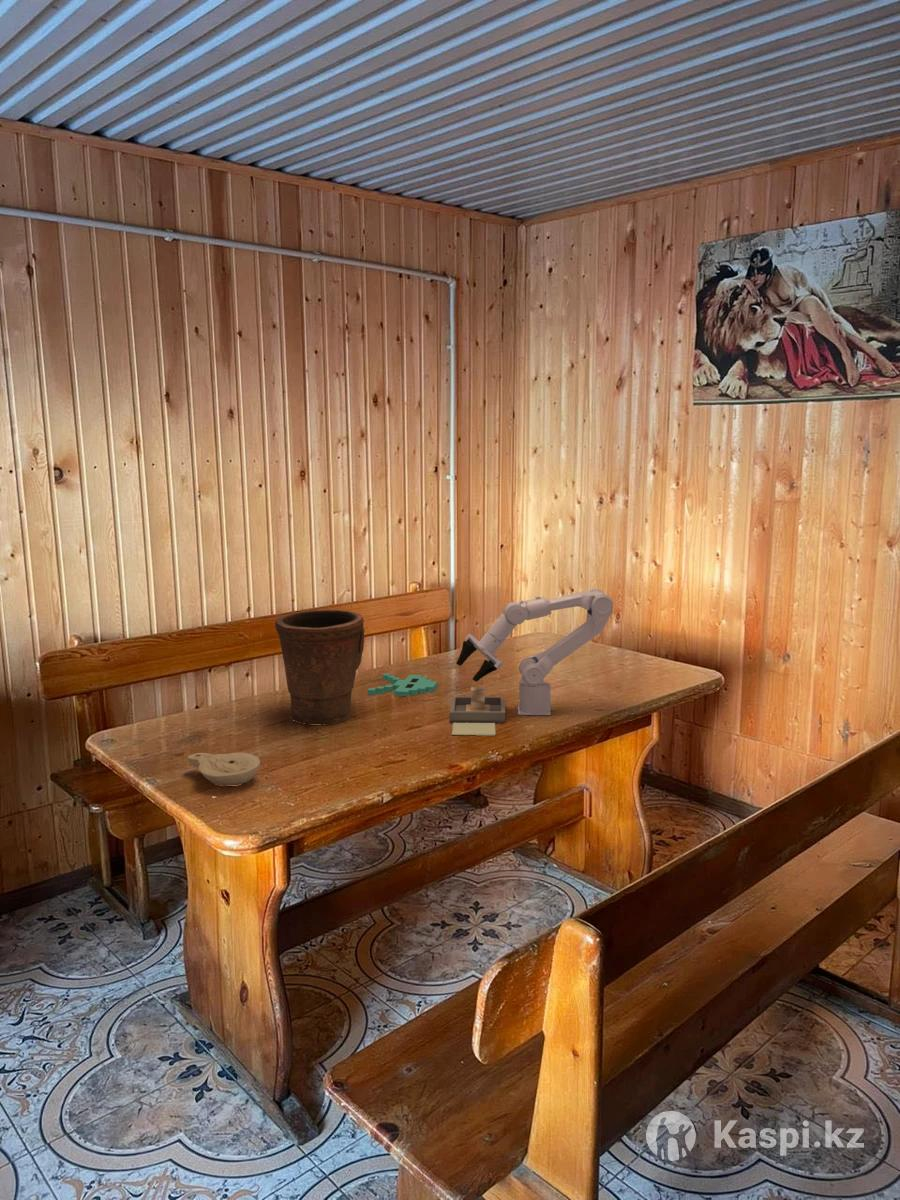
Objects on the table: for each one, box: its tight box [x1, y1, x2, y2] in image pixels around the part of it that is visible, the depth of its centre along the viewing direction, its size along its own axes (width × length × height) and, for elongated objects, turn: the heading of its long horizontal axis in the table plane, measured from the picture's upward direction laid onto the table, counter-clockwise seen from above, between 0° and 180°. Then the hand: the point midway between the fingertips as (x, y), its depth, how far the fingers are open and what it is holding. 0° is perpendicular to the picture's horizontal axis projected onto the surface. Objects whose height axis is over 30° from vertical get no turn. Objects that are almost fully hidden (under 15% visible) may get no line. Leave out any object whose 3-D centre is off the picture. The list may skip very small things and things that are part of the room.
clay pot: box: [274, 609, 365, 726], centre depth 263 cm, size 25×29×30 cm
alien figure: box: [367, 673, 438, 698], centre depth 292 cm, size 20×2×20 cm
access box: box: [449, 695, 506, 724], centre depth 264 cm, size 16×16×3 cm
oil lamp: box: [187, 752, 261, 786], centre depth 216 cm, size 21×14×5 cm
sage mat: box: [451, 723, 496, 737], centre depth 250 cm, size 12×10×1 cm
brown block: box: [470, 686, 486, 710], centre depth 263 cm, size 4×4×6 cm
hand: (466, 672), depth 263 cm, fingers open, 7 cm apart
